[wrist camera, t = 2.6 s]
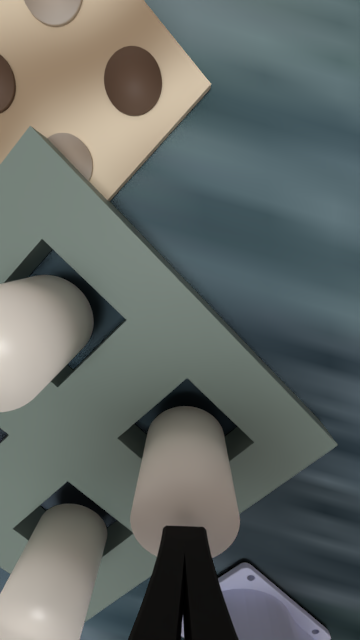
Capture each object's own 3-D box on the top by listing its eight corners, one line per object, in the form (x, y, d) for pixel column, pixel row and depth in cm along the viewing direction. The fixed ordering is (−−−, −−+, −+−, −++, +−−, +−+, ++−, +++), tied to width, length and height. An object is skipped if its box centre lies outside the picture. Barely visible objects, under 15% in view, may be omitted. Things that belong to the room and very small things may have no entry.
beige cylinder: (240, 441, 15) (262, 525, 10) (184, 485, 16) (183, 578, 11) (186, 390, 14) (186, 457, 10) (130, 438, 15) (107, 519, 11)
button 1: (121, 532, 17) (98, 635, 12) (76, 567, 17) (40, 675, 13) (68, 491, 16) (24, 585, 12) (24, 529, 17) (-33, 630, 12)
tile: (210, 89, 12) (211, 81, 12) (75, 239, 14) (71, 239, 14) (49, -111, 11) (41, -131, 10) (-79, 86, 13) (-92, 79, 12)
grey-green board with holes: (320, 421, 17) (338, 445, 15) (92, 587, 21) (82, 623, 19) (52, 142, 13) (29, 125, 11) (-159, 407, 17) (-203, 428, 15)
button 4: (111, 319, 13) (74, 358, 9) (56, 374, 14) (-3, 434, 10) (43, 255, 13) (-32, 263, 8) (-11, 316, 13) (-105, 353, 9)
